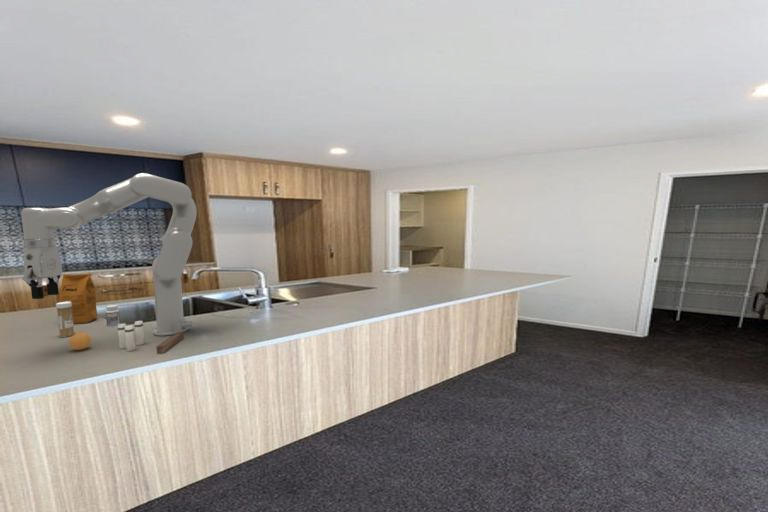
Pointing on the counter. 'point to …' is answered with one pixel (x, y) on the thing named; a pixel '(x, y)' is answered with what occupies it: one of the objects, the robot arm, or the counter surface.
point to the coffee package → (79, 296)
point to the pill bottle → (112, 315)
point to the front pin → (122, 335)
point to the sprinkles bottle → (65, 319)
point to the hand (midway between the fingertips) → (45, 296)
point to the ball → (80, 341)
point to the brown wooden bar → (169, 342)
